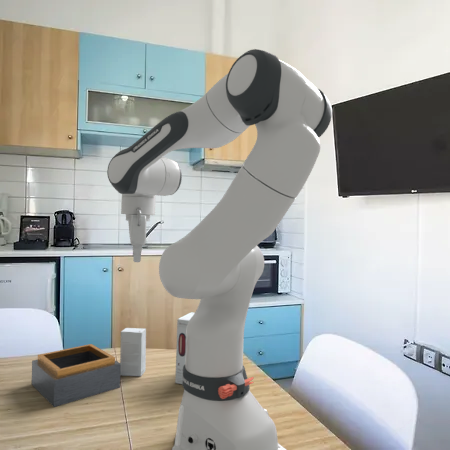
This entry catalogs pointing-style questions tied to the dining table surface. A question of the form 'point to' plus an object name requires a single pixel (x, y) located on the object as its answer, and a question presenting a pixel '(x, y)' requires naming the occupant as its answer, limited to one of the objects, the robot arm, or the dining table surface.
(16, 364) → the dining table surface
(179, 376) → the supplement box
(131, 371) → the skincare box
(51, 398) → the grey open box
